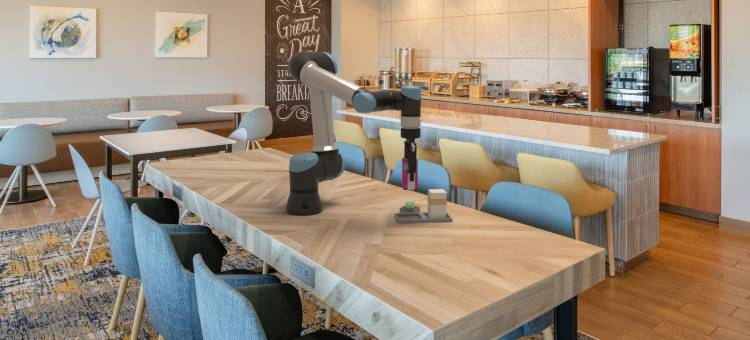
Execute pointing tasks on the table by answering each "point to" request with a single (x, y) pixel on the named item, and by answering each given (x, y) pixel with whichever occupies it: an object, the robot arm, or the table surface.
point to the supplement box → (405, 174)
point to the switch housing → (409, 210)
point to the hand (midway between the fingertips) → (409, 187)
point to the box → (437, 203)
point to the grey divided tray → (419, 218)
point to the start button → (409, 205)
